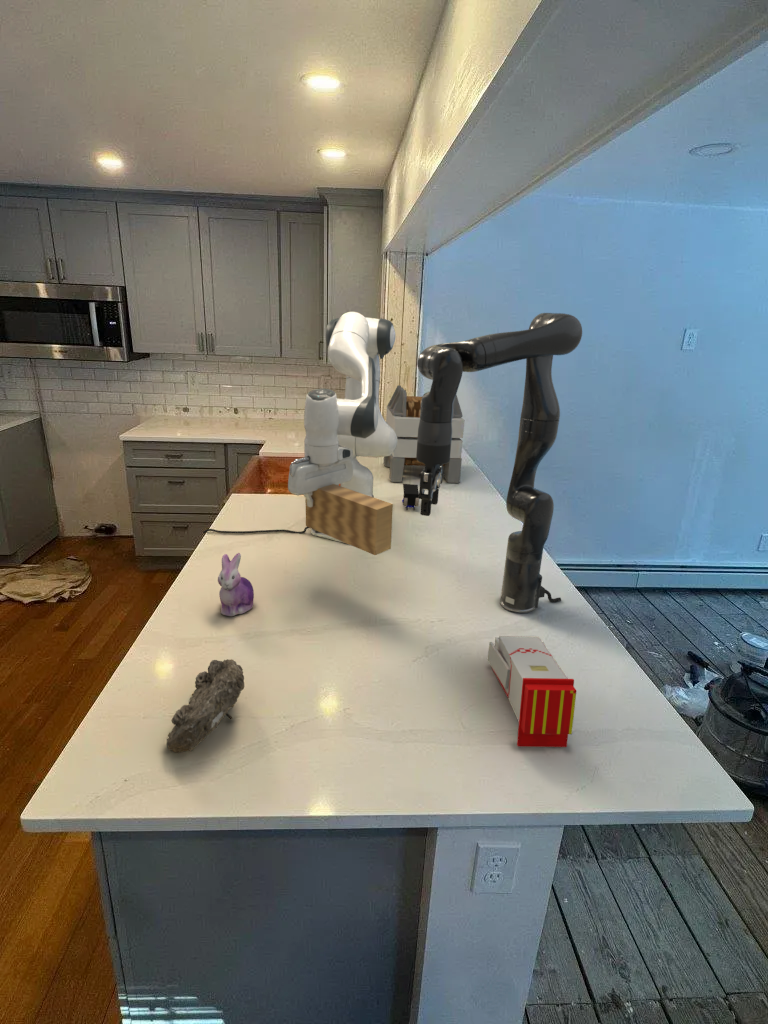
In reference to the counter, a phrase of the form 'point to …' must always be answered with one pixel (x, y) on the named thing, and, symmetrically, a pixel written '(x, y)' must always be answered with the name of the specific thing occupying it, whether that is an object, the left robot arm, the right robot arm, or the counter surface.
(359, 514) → the box
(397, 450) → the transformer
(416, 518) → the counter surface
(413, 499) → the figurine character
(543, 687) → the toy
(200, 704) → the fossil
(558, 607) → the counter surface
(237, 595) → the figurine
